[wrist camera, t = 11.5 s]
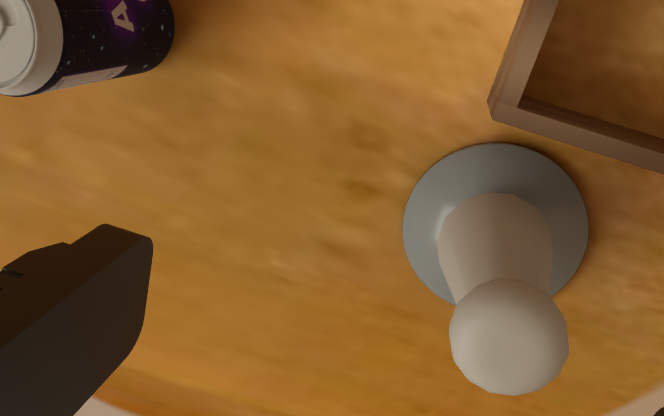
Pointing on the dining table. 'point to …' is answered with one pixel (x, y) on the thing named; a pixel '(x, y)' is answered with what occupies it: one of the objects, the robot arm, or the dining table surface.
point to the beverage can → (79, 42)
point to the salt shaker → (502, 294)
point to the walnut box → (553, 119)
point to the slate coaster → (498, 177)
